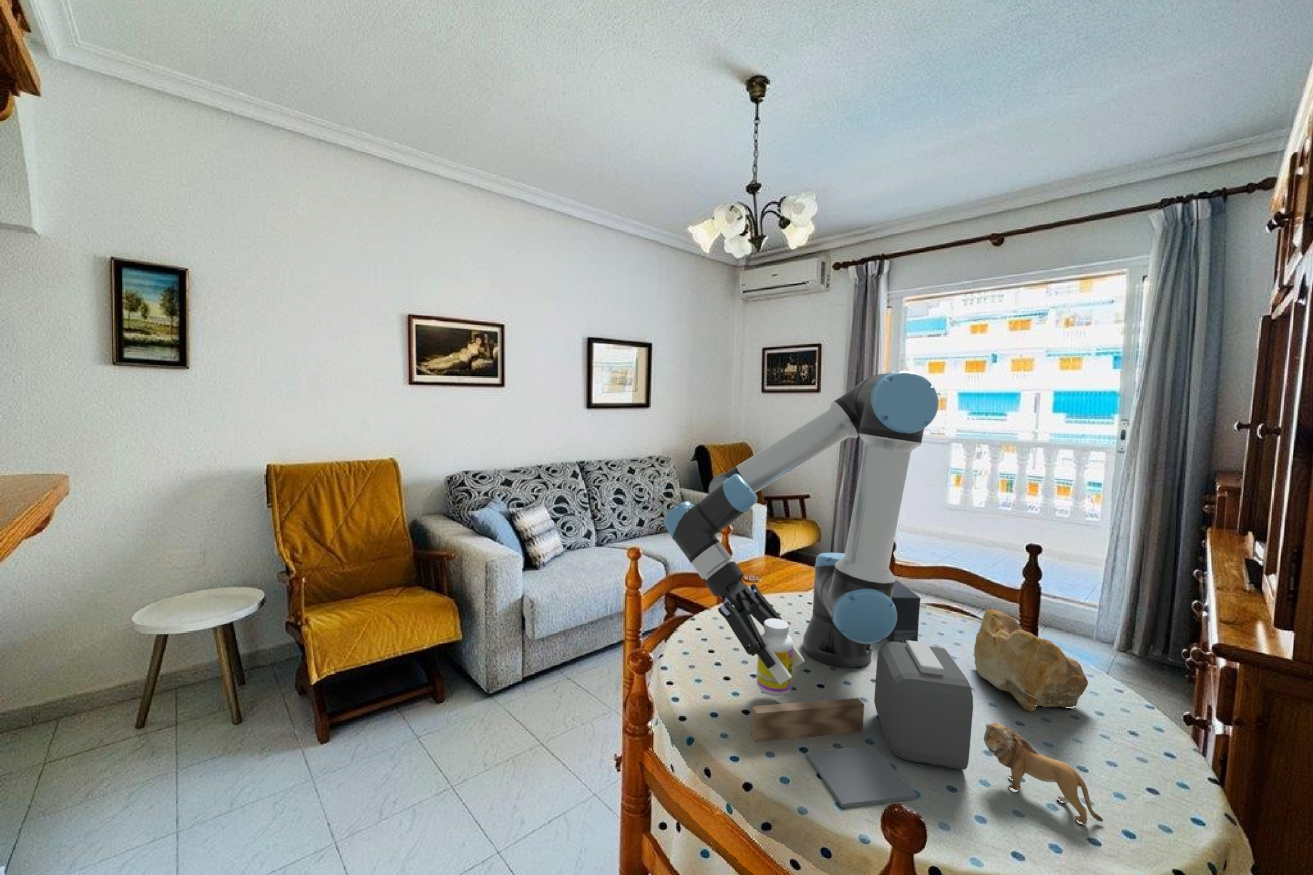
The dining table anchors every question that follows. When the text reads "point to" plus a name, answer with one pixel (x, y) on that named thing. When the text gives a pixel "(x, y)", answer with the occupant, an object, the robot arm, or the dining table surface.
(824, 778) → the rubber mat
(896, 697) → the alarm clock
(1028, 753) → the lion figurine
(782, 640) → the supplement bottle
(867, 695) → the dining table surface
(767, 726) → the walnut rail
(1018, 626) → the rough brown rock
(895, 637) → the small box
